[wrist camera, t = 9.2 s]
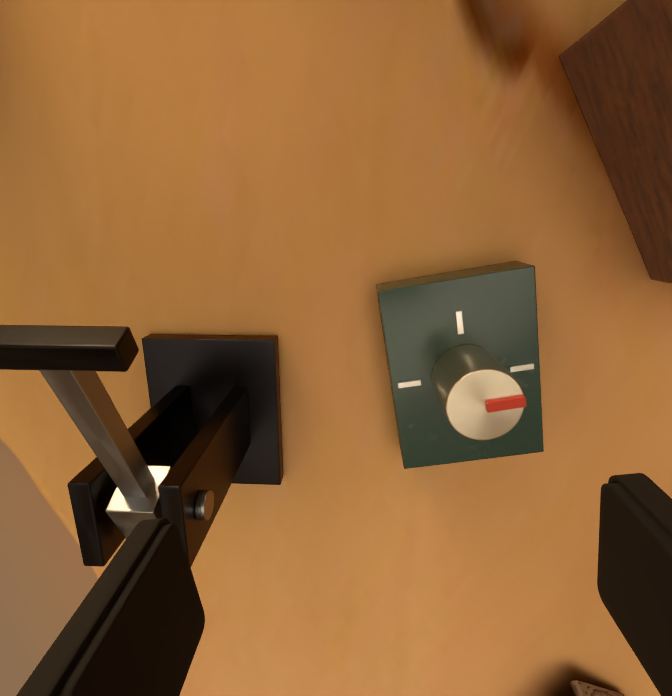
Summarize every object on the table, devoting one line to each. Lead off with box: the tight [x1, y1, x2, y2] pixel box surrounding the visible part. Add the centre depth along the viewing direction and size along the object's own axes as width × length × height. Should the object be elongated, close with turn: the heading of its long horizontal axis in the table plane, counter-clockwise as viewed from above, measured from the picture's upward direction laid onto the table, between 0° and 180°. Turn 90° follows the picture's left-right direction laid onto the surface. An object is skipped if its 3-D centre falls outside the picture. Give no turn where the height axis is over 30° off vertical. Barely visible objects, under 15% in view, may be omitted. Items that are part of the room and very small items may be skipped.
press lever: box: [0, 325, 172, 539], centre depth 18 cm, size 12×5×2 cm, turn 0°
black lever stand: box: [68, 334, 283, 568], centre depth 25 cm, size 11×9×13 cm
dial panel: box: [376, 261, 544, 469], centre depth 28 cm, size 12×9×3 cm
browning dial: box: [432, 345, 526, 440], centre depth 24 cm, size 4×4×5 cm
